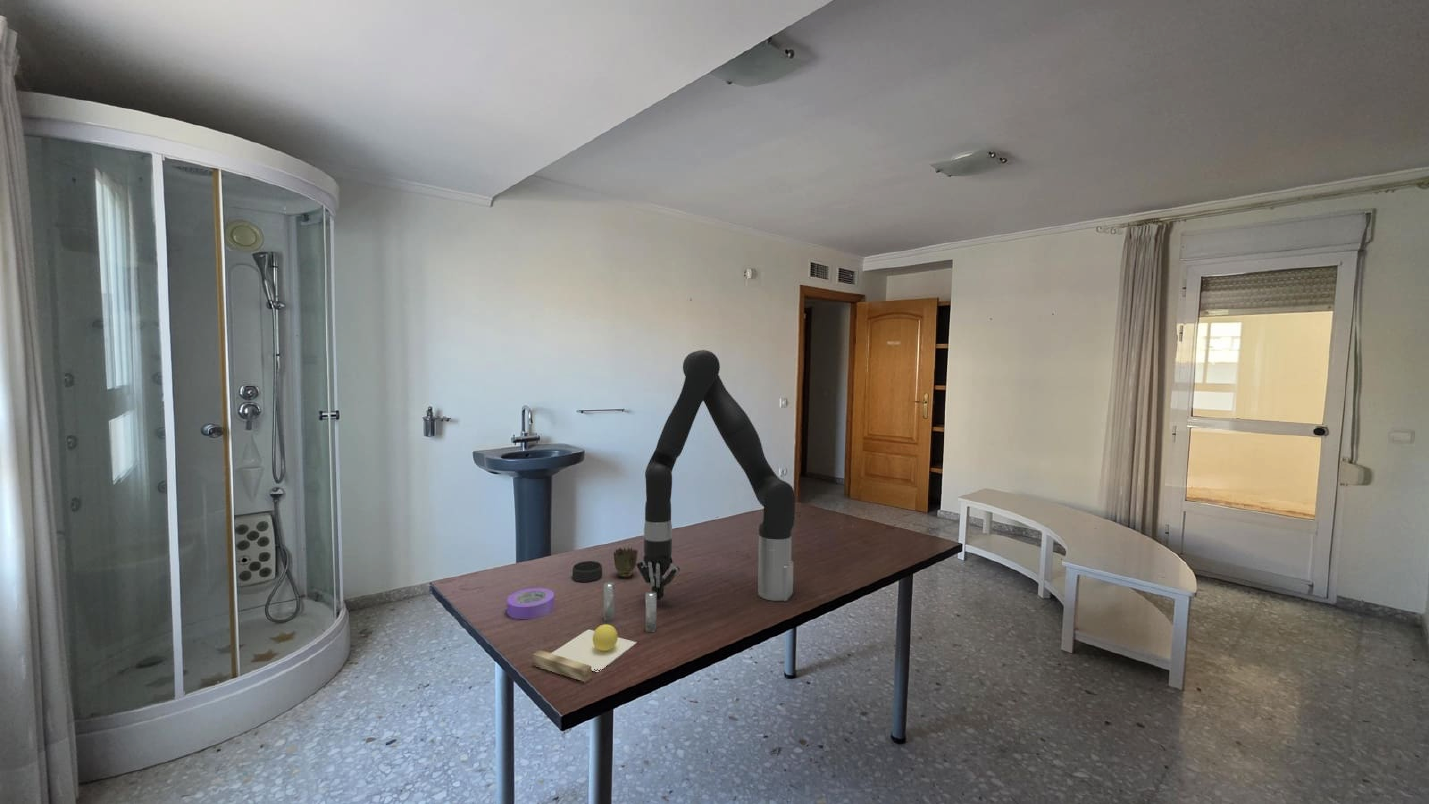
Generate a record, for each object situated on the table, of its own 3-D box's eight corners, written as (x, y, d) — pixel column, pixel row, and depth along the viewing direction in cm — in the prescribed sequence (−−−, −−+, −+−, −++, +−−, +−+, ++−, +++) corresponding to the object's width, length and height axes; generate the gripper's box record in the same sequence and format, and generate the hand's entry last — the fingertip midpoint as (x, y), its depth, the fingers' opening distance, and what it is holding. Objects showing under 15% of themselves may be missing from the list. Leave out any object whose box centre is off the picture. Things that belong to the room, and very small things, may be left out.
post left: (616, 618, 132) (616, 583, 132) (609, 622, 129) (610, 586, 129) (608, 616, 133) (608, 581, 133) (601, 620, 131) (601, 585, 130)
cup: (632, 581, 156) (632, 555, 156) (609, 579, 158) (609, 553, 157) (640, 573, 163) (640, 548, 163) (618, 571, 165) (619, 546, 165)
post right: (658, 628, 126) (658, 592, 126) (652, 633, 124) (652, 596, 124) (649, 626, 127) (649, 590, 127) (643, 630, 125) (643, 594, 125)
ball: (607, 644, 111) (614, 658, 114) (617, 621, 116) (624, 635, 119) (585, 640, 113) (592, 654, 116) (596, 617, 117) (602, 631, 120)
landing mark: (636, 643, 119) (636, 642, 119) (597, 673, 106) (597, 672, 106) (588, 630, 125) (588, 629, 125) (546, 657, 113) (546, 656, 113)
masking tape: (535, 623, 129) (535, 608, 129) (497, 617, 132) (497, 602, 132) (562, 604, 140) (562, 590, 140) (526, 599, 144) (526, 585, 143)
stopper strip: (591, 678, 105) (591, 666, 105) (584, 683, 103) (584, 671, 103) (539, 661, 111) (539, 650, 111) (532, 666, 109) (532, 654, 109)
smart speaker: (599, 583, 156) (599, 570, 155) (569, 583, 155) (569, 570, 155) (603, 572, 164) (603, 560, 164) (575, 573, 164) (575, 560, 164)
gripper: (686, 535, 140) (685, 598, 141) (645, 529, 146) (644, 590, 146) (672, 543, 133) (671, 609, 134) (629, 536, 139) (629, 599, 140)
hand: (657, 599), depth 140 cm, fingers closed
